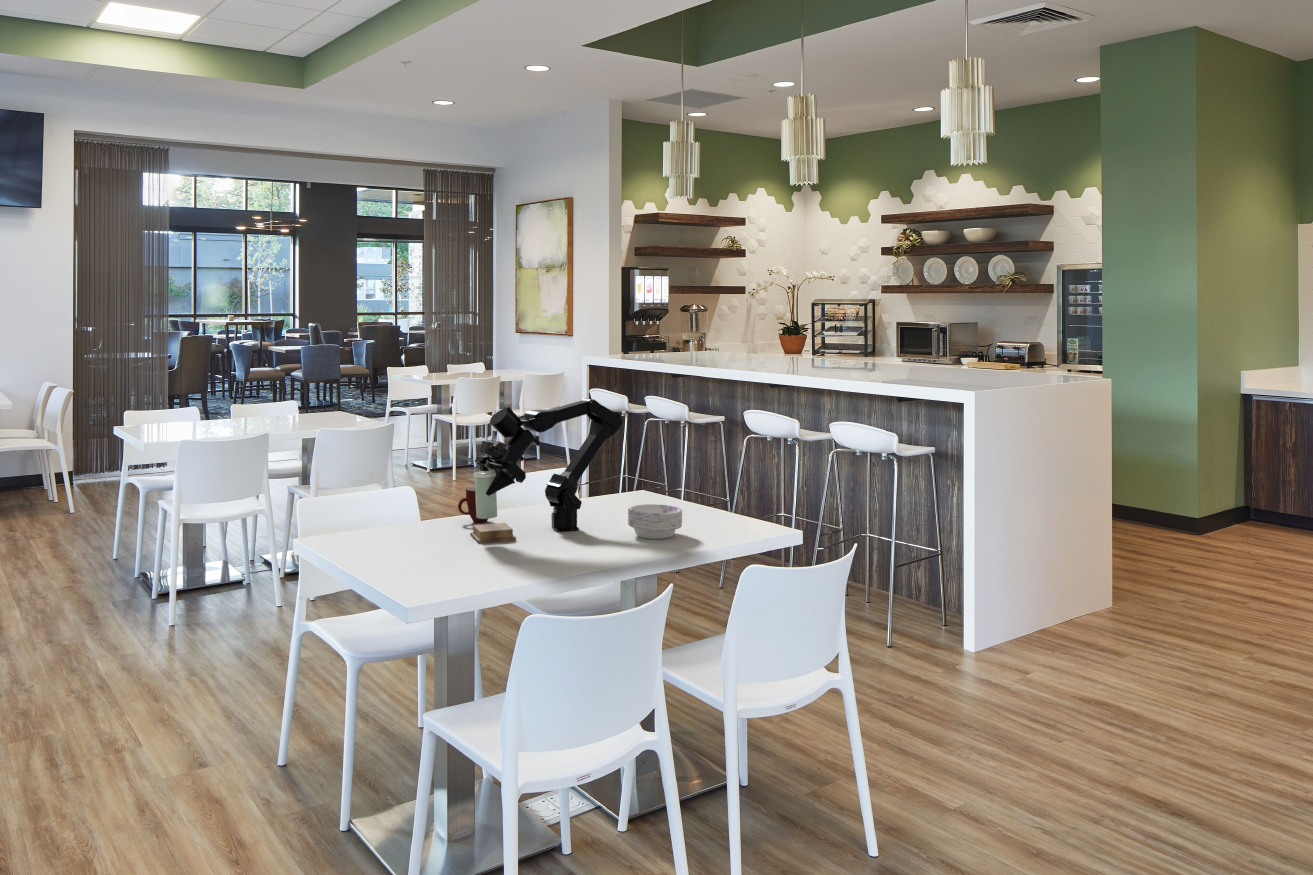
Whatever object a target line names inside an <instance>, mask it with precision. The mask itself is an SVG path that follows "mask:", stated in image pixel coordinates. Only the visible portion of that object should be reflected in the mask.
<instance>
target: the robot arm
mask: <svg viewBox="0 0 1313 875" xmlns="http://www.w3.org/2000/svg"><path fill="white" fill-rule="evenodd" d="M585 415H586V416H587V418H588V419H590V420H591V424H590V432H589V434H588V435H587V437H586V438H585V440H584V442H583V443H582V445H581V446H580V447H579V449H578V450H577V452H576V453H575V455H574V456H573V458H572V459H571V461H570V462H569V463H568V465H567V467H566V468H565V469H564V470H563V472H561V473H553V474H552V475H551V477H550V479H549V480H548V482H547V483H545V485H546V487H545V489H544V493H545V494H544V495H545V497H546V500H547V501H548V503H549V506H550V507H552V508H553V509H552V513H551V529H553V530H554V531H556V532H566V531H567V532H568V531H578V530H580V527H579V526H578V510H580V509H581V506H582V502H583V501H582V500H580V498H579V497H577V495H576V493H577V492H578V485H579V480H580V478H581V477H582V476H583V474H584V473H585V471H586V470H587V468H588V467H589V465H590V463H592V461H593V459H594V458H595V457H596V455H597V453H598V452H599V450H600V449H601V448H602V446H603V444H604V443H605V442H606V441H607V440H609V439H611V438H613V437H614V436H615V435H616V434H617V433H618V432H619V431H620V430H621V429H622V426H623V418H622V415H621V414H620V413H619V412H616V411H613V410H611V409H610V408H608V407H606V406H605V405H603V404H601V403H600V402H598V401H597V400H595V399H594V398H582V399H581V400H579V401H575V402H571V403H567V404H564V405H560V406H557V407H554V408H548V409H531V410H527V411H525V412H524V413H523V415H519V416H518V415H517V414H516V413H515V412H514V411H513V409H512V408H511V407H510V406H504V407H503V408H501V409H500V410H498V411H497V412H495V413H494V414H493V415H492V416H491V417H490V418H489V419H490V420H489V424H490V425H491V427H493V428H494V429H495V430H496V431H497V432H498V433H499V434H500V435H501V436H502V437H504V438H509V439H508V440H507V442H506V443H504V442H502V441H498V440H497V441H495V442H494V443H493V442H490V441H486V440H482V442H481V444H480V448H478V449H479V450H478V452H479V453H481V454H482V453H484V454H485V455H483V454H482V455H478V456H477V457H476V458H475V460H474V463H475V464H476V465H478V467H479V469H480V470H479V471H495V472H496V477H495V478H494V480H493V482H492V483H491V485H490V486H489V488H488V490H487V492H486V494H487V495H488V496H490V495H491V494H493V493H495V492H496V493H497V492H499V491H501V490H502V489H504V488H507V487H508V486H511V485H513V484H515V483H521V484H522V483H523V482H524V481H525V480H526V478H527V475H526V474H527V473H526V472H525V471H524V470H523V469H522V468H521V467H520V466H519V464H518V463H519V462H523V461H524V460H525V457H524V455H525V454H526V452H527V451H528V450H529V449H530V447H531V446H532V445H533V446H537V447H540V446H541V443H540V436H539V435H536V434H535V435H534V434H533V433H532V432H535V433H540V434H541V433H545V432H546V431H548V430H550V429H553V428H554V427H555V425H557V424H559V423H562V422H565V421H568V420H571V419H572V420H573V419H575V418H578V417H582V416H585ZM487 455H488V456H487Z"/></svg>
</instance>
